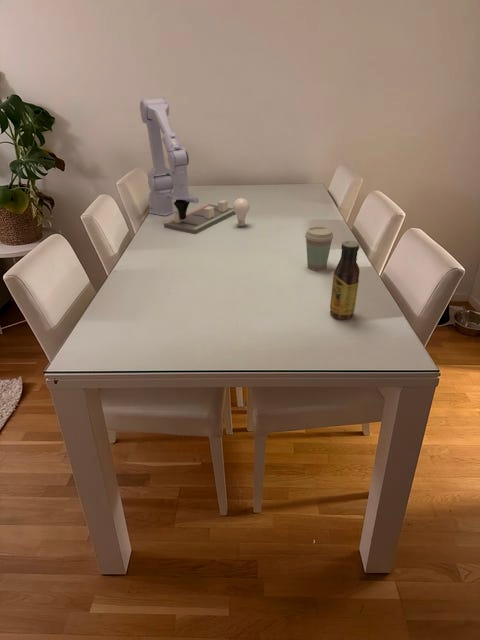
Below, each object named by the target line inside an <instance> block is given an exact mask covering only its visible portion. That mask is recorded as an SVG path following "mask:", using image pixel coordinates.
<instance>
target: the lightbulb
mask: <svg viewBox="0 0 480 640" xmlns="http://www.w3.org/2000/svg"><path fill="white" fill-rule="evenodd" d="M232 208H233V210H234V212H235V213H236V214H235V215H236V218H237V225H238V226H239V227H241V228H242V227H244V226H245V225H246V216H247V214H248V212H249V211H250V203H249V201H248V200H247V199H246V198H243V197H239V198H237V199H235V200H234V202H233V204H232Z"/></svg>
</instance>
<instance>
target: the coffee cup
mask: <svg viewBox="0 0 480 640" xmlns="http://www.w3.org/2000/svg"><path fill="white" fill-rule="evenodd" d="M304 237H305V241H306V257H307V258H306V263H307V268H308V269H309V270H312V271H319V272H320V271H323V270H326V269H327V265H328V260H329V256H330V255H329V254H330V252H331V245H332V242H333V241H332V240H333V239H334V233H333V230H332V229H331V228H329V227H326V226H312V227H309V228H307V230H306V232H305V234H304Z"/></svg>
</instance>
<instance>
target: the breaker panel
mask: <svg viewBox="0 0 480 640" xmlns="http://www.w3.org/2000/svg"><path fill="white" fill-rule="evenodd" d="M208 206H211V207H214V217H212V218H210V219H208V218H204V208H206V207H208ZM234 215H236V213H235V212H234V210H233V207H228V210H227V211H224V212H220V211H218V205H217V204H215V205H214V204H211V203H208V204H206V205H204V206H202V207H201V206H200V208H197V209H195V210H192V211H190V212H187V213H186V219H184V220H185V221H182V222H180V223H176V222H174V219H172V220H169V221H167V222H165V223H163V225H164V226H163V227H164V228H165V229H170V230H174V231H179V232H183V233H188V234H192V235H196V234H199V233H200V232H202V231H204V230H206V229H208V228H210V227H213V226H214V225H216V224H218V223H221V222H222V221H224V220H226V219H228V218H230V217H232V216H234Z"/></svg>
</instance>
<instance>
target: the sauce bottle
mask: <svg viewBox="0 0 480 640" xmlns="http://www.w3.org/2000/svg"><path fill="white" fill-rule="evenodd" d="M359 249H360V243H358V242H357V241H355V240H344V241H343V242H342V243H341V255H340V259H339V261H338V263H337V265H336V268H335V269H334V271H333V278H332V279H333V280H332V283H331V284H332V286H331V296H330V306H329V311H330V312H329V314H330V315H331V317H333V318H335V319H336V320H349V319H352V317H353V316H354V312H355V308H356V303H357V295H358V287H359V282H360V281H359V278H360V273H361V271H360V267H359V264H358V263H357V260H358V258H357V257H358V252H359Z"/></svg>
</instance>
